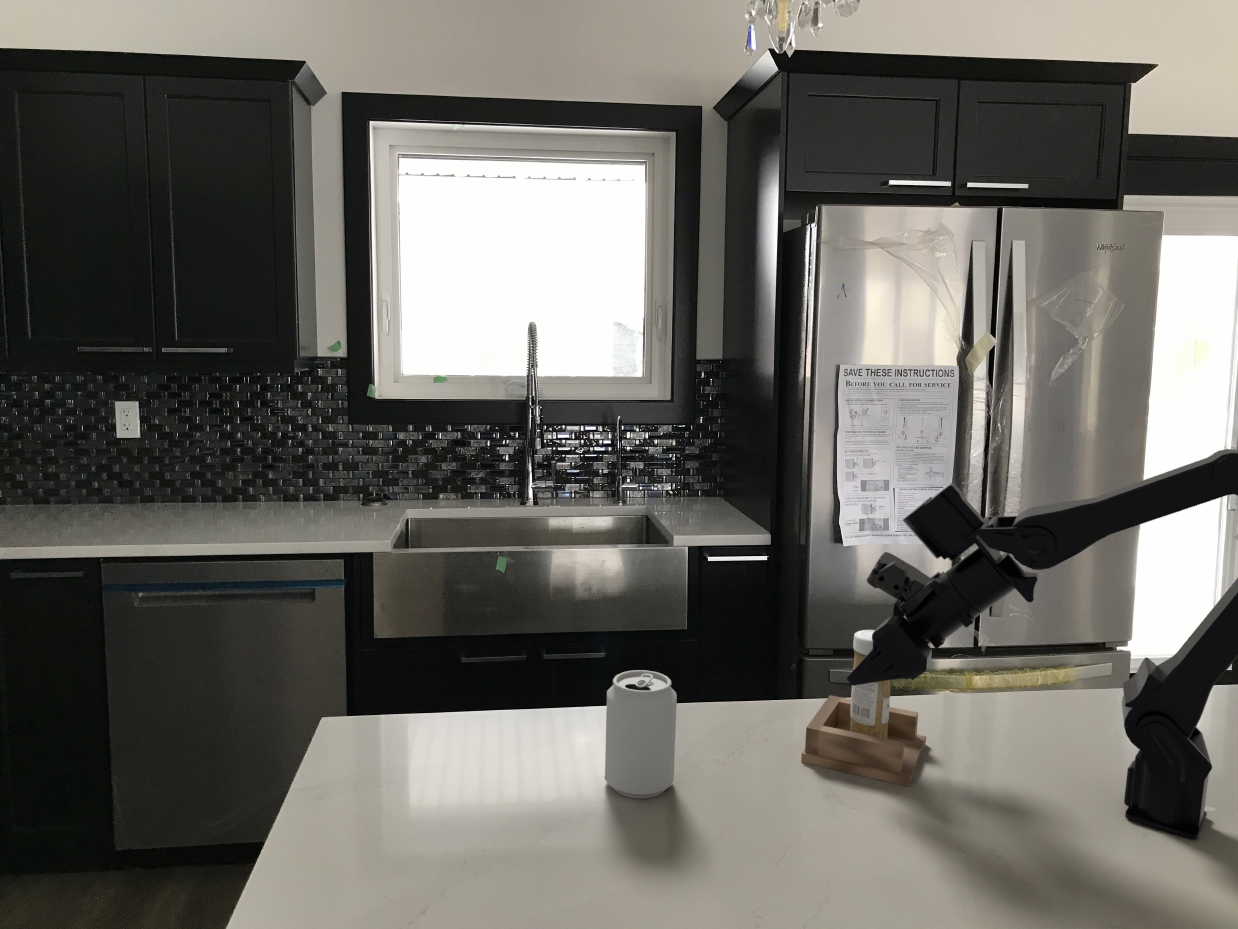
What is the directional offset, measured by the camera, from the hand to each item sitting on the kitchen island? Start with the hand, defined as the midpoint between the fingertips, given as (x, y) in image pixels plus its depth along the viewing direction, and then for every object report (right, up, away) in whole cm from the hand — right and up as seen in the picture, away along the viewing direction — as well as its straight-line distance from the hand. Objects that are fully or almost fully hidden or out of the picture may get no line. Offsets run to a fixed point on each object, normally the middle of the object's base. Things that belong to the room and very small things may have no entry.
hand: (858, 669), depth 110 cm
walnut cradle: (+1, -10, +1) cm, 10 cm away
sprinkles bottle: (+1, -9, +1) cm, 9 cm away
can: (-26, -11, -8) cm, 29 cm away
